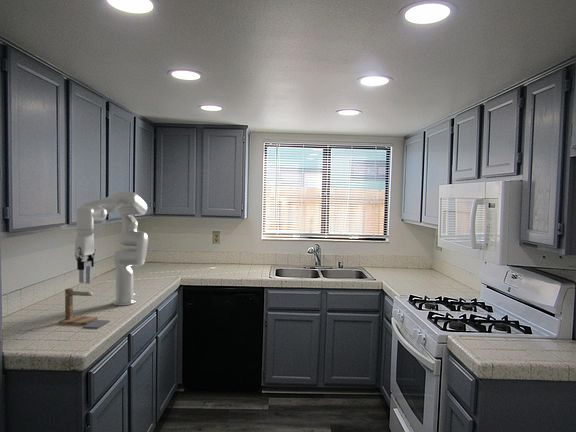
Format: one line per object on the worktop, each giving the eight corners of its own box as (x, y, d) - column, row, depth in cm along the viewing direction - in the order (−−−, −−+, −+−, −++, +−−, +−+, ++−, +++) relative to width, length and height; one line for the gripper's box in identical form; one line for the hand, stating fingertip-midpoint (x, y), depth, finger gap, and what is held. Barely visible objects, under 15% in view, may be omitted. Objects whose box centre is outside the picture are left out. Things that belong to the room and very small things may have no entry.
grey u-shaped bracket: (87, 282, 212) (87, 260, 211) (92, 282, 211) (92, 260, 211) (79, 285, 204) (79, 262, 204) (83, 285, 204) (83, 262, 203)
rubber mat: (95, 320, 210) (95, 319, 210) (109, 321, 209) (109, 320, 209) (82, 327, 199) (82, 326, 199) (97, 328, 198) (97, 327, 198)
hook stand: (58, 323, 204) (58, 291, 203) (71, 318, 214) (71, 286, 213) (86, 325, 203) (86, 292, 202) (97, 319, 213) (97, 287, 212)
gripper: (87, 230, 215) (88, 264, 216) (67, 234, 198) (67, 271, 199) (101, 231, 215) (102, 265, 216) (82, 234, 197) (82, 271, 198)
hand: (85, 267), depth 207 cm, fingers closed on grey u-shaped bracket, 7 cm apart
